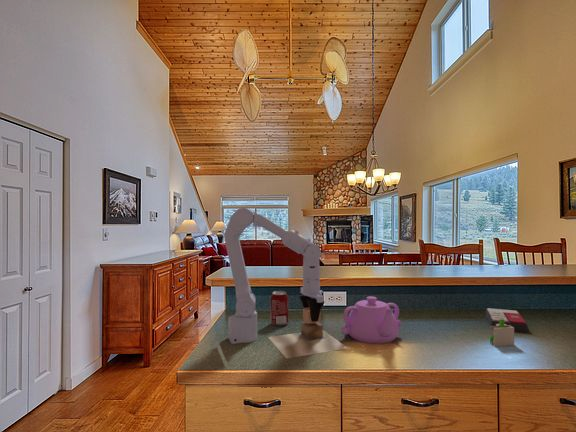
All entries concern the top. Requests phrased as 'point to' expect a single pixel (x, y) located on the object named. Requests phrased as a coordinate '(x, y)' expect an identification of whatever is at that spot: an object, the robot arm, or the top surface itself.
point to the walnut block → (311, 330)
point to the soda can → (279, 308)
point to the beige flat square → (305, 344)
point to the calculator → (506, 318)
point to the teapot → (372, 321)
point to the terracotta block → (307, 316)
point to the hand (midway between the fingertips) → (311, 319)
